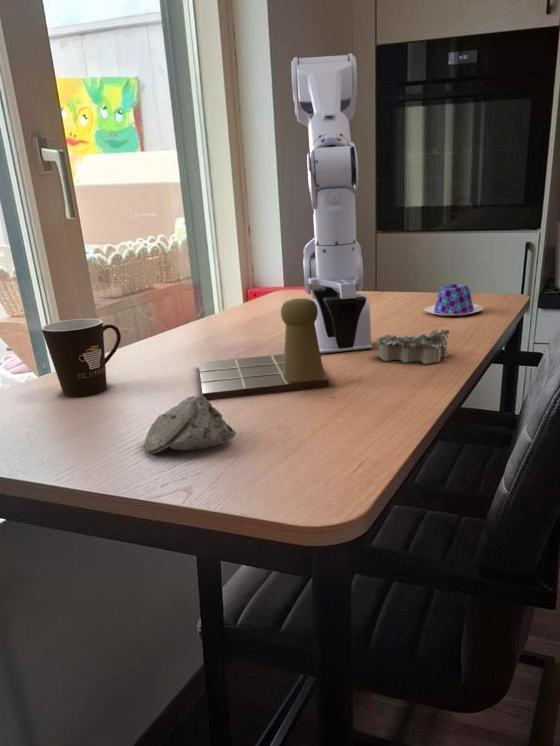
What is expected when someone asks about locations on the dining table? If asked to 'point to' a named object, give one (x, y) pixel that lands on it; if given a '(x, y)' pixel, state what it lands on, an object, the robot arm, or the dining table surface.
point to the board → (249, 377)
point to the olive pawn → (301, 341)
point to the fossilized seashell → (188, 427)
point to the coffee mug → (79, 355)
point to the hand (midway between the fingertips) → (339, 341)
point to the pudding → (454, 301)
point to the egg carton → (414, 347)
